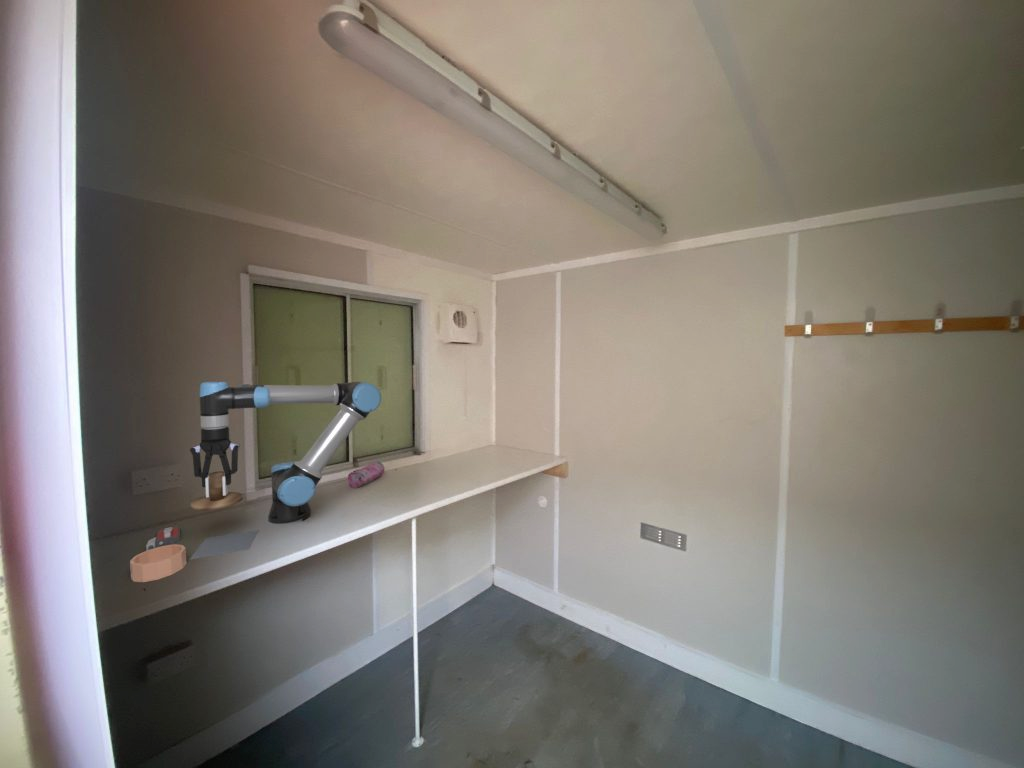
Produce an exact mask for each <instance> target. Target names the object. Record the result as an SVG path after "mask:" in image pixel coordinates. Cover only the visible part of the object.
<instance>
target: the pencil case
mask: <svg viewBox="0 0 1024 768" xmlns="http://www.w3.org/2000/svg"><path fill="white" fill-rule="evenodd" d="M384 474H385V466H384V464H383V463H381V462H380V461H373V462H372V463H370V464H368V465H367V466H364V467H361V468H358V469H355V470H352V471H351V472H349V474H348V475H347V481H348V482H347V483H348V486H349V488H350V489H351V488H352V489H357V488H359V487H362V486H364V485H367V484H369V483H370V482H372V481H374V480H376V479H377V478H379V477H382V476H383V475H384Z"/></svg>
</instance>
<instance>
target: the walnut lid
mask: <svg viewBox="0 0 1024 768" xmlns="http://www.w3.org/2000/svg"><path fill="white" fill-rule="evenodd" d="M208 474H209V475H208V476H209V487H210V496H209V497H206V495H204V496H200V497H198V498H197V497H196V499H193V500H192V501H191V502H190V509H191V510H194V511H211V510H218V509H224V508H227V507H231V506H234V505H237V504H238V503H240V502H242V500H243V493H241V492H238V491H228V493H227V495H225V496H223V482H222V477H223V476H224V475H225V473H224V470H223V471H219V470H218V471H213V472H209V473H208Z"/></svg>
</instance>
